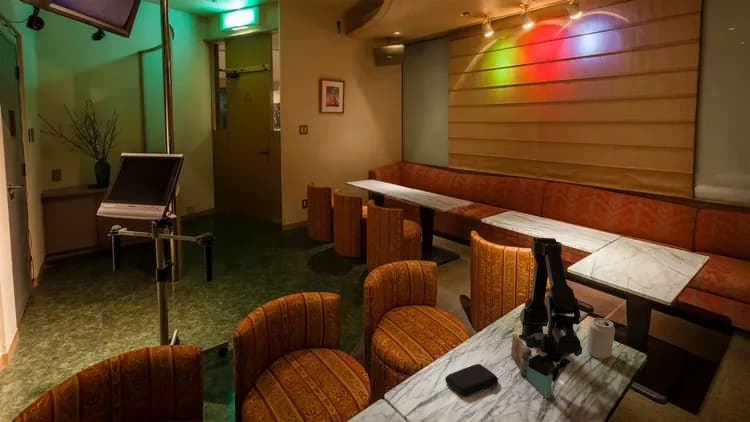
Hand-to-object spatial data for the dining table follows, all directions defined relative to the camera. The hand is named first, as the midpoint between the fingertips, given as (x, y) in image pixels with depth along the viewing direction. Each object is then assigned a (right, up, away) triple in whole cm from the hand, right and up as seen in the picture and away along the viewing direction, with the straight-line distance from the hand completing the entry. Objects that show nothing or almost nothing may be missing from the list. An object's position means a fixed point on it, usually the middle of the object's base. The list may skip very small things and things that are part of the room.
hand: (553, 381), depth 131 cm
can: (+23, +2, +19) cm, 30 cm away
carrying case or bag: (-23, -2, +3) cm, 23 cm away
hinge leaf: (-5, -2, +2) cm, 5 cm away
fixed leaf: (-6, 0, +12) cm, 13 cm away
